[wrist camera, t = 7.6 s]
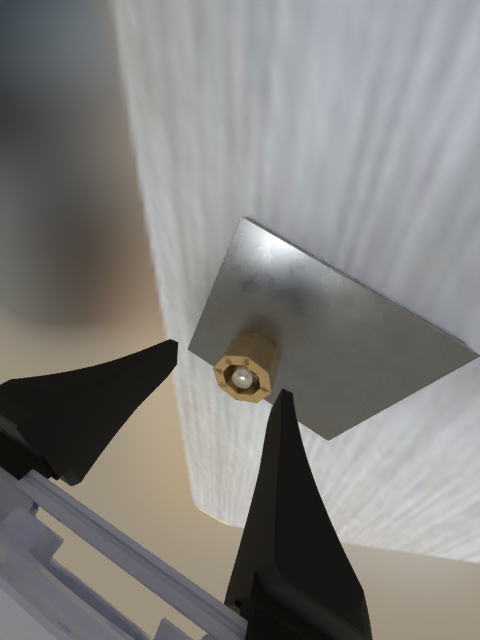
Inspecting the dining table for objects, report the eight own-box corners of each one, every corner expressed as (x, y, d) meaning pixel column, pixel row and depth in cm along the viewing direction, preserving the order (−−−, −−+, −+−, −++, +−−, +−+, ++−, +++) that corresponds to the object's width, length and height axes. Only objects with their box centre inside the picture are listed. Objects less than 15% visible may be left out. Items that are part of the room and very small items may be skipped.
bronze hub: (288, 355, 18) (283, 384, 15) (258, 380, 21) (248, 409, 18) (247, 323, 18) (232, 345, 15) (222, 352, 21) (205, 376, 18)
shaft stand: (465, 344, 14) (538, 401, 10) (327, 428, 23) (330, 480, 18) (247, 217, 16) (219, 214, 11) (194, 342, 24) (166, 370, 20)
